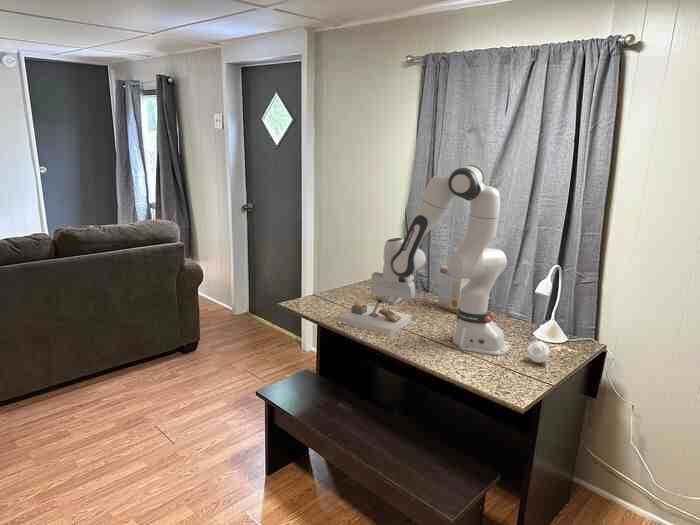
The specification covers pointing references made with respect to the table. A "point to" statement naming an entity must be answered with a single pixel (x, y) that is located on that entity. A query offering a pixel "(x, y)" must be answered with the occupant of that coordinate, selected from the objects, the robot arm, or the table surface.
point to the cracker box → (450, 290)
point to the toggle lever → (377, 306)
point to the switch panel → (374, 320)
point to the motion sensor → (538, 352)
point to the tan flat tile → (389, 314)
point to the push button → (359, 304)
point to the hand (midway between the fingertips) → (391, 305)
